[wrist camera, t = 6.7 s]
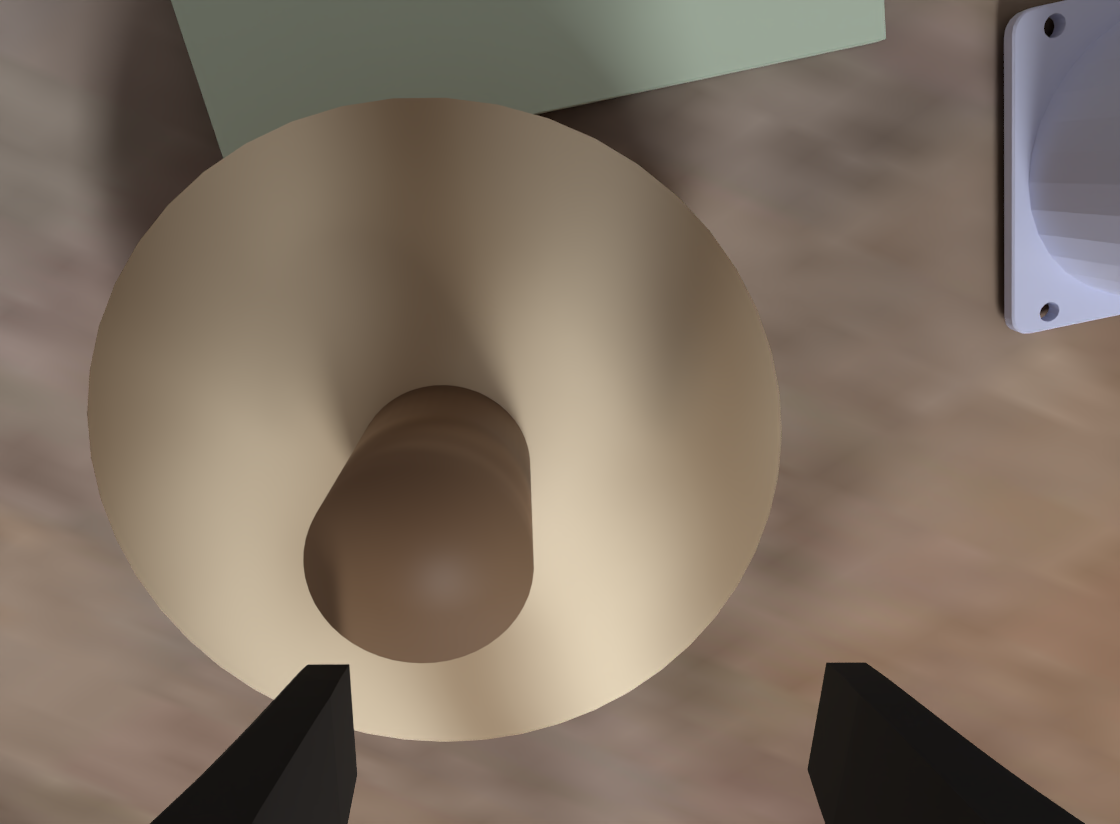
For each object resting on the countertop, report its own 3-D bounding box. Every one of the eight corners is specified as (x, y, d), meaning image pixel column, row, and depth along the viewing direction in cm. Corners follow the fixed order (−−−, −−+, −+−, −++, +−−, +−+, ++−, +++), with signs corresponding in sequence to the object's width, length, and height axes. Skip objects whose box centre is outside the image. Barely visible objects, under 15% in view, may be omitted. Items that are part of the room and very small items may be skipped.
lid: (721, 25, 13) (825, -51, 9) (800, 650, 18) (897, 815, 13) (-13, 193, 14) (-280, 204, 9) (247, 768, 18) (155, 970, 13)
